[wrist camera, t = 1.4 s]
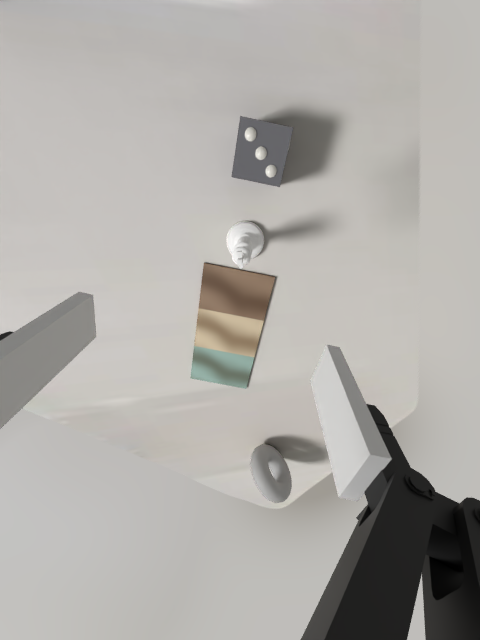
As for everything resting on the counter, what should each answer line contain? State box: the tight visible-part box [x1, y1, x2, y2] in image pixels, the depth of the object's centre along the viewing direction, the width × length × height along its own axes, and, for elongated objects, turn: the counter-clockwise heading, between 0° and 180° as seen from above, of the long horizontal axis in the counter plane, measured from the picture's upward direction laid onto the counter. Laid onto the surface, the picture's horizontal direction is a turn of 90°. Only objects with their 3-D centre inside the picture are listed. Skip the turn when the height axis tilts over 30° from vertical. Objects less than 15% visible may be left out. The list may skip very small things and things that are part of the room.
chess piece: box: [227, 221, 264, 268], centre depth 30 cm, size 5×5×10 cm
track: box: [191, 263, 275, 389], centre depth 41 cm, size 21×10×1 cm, turn 170°
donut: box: [250, 444, 292, 503], centre depth 49 cm, size 10×3×10 cm, turn 45°
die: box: [232, 116, 293, 187], centre depth 27 cm, size 5×5×5 cm
